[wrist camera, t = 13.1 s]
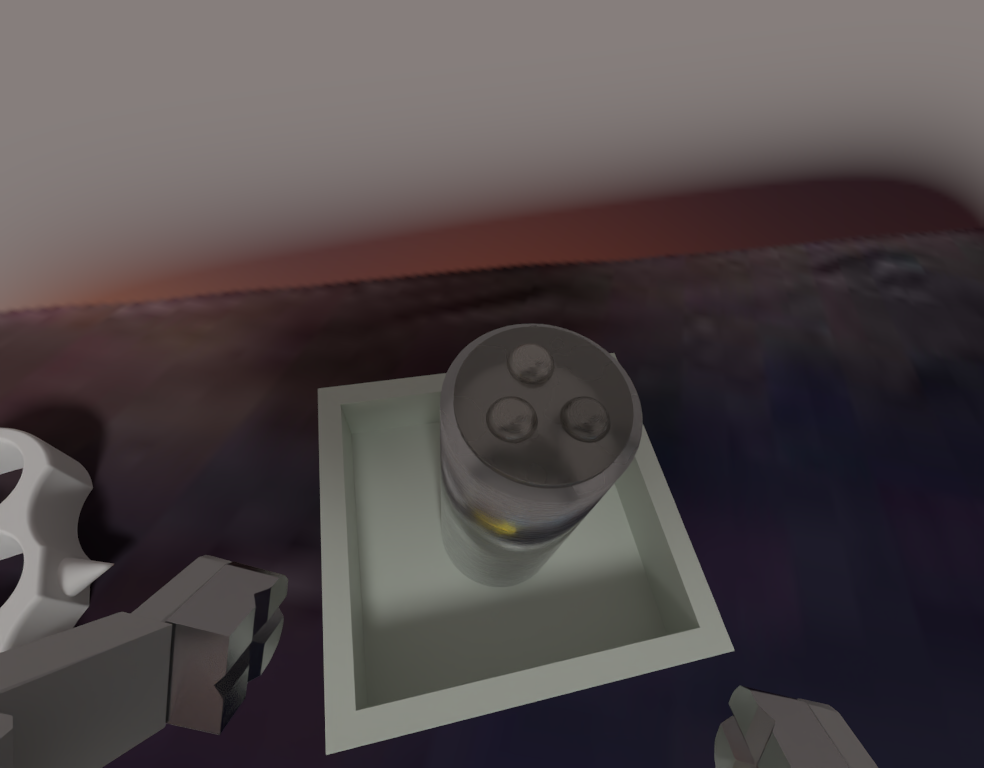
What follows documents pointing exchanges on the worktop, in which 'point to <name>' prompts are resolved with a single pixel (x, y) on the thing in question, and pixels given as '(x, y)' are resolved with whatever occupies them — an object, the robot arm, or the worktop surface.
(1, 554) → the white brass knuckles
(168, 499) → the worktop surface
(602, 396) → the gray flashlight
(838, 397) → the worktop surface
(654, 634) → the sage bin
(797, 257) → the worktop surface
